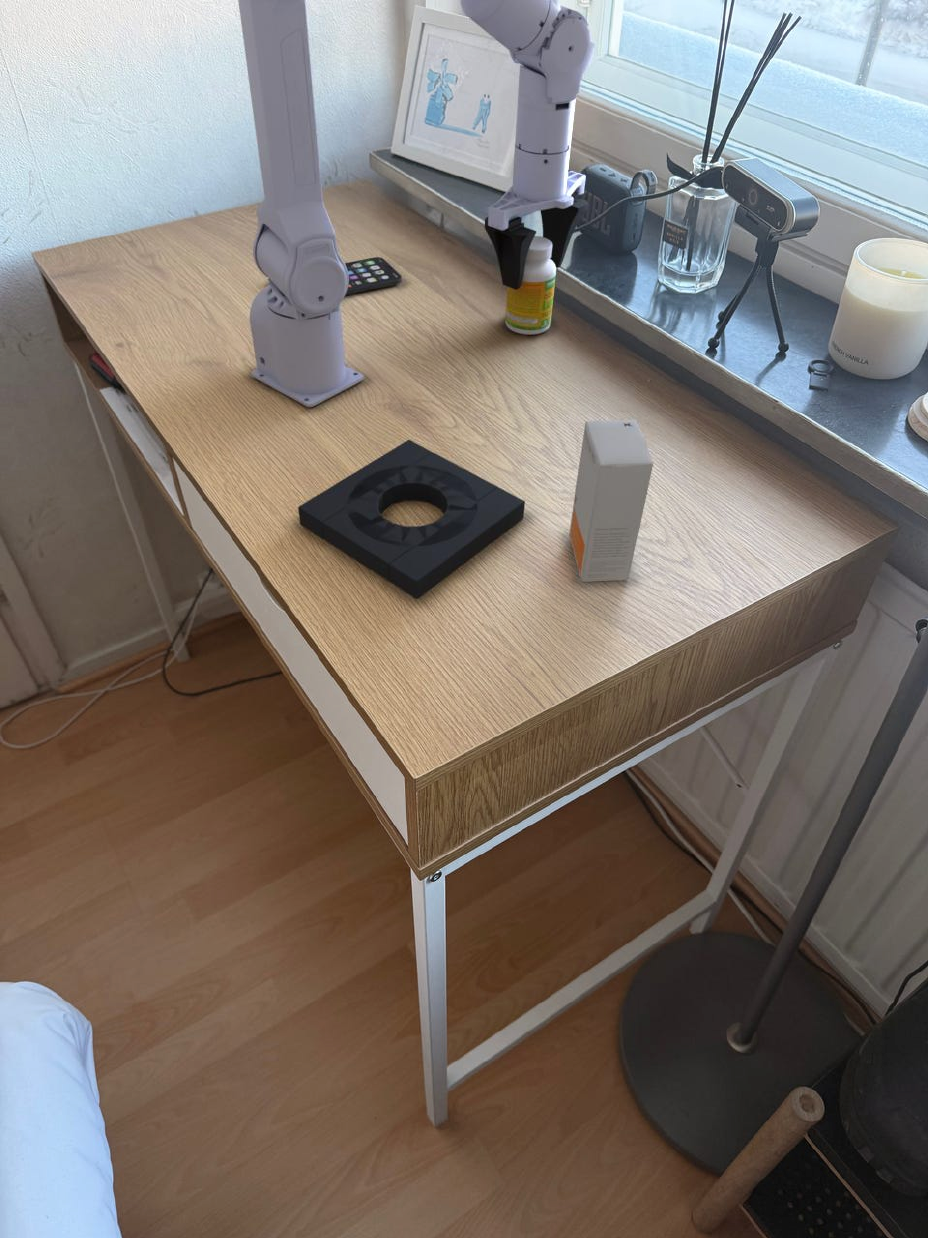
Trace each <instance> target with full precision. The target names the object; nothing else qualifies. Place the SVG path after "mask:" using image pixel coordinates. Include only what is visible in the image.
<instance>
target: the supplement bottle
mask: <svg viewBox="0 0 928 1238" xmlns="http://www.w3.org/2000/svg"><path fill="white" fill-rule="evenodd" d="M551 253H552V242H551V241H550V240H549V239H547V238H544V237H543V236H540V235H535V236H534V238H533V240H532V242H531V245H530V247H529V250H528V253H527V257H526V262H525V268H524V275H523V281H522V284H521V287H520V288H519V289H517V290H515V289H513V288H510V287H508V286H506V287H507V288H506V303H505V304H506V305H505V318H504V321H505V326H506V327H507V328H508V329H509V330H510V331H512V332H514V333H517V334H521V335H540V334H542V333H545V332H546V331H548V330H549V328H550V327H551V323H552V316H553V315H552V313H553V303H554V295H555V285H556V276H557V268H556V266H555V264H554V262H553V261H552V260H551V259H550V258H551Z"/></svg>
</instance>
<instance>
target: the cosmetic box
mask: <svg viewBox="0 0 928 1238" xmlns="http://www.w3.org/2000/svg"><path fill="white" fill-rule="evenodd" d="M647 445H648V444H647V442H646V439H645V437H644V436H643V433H642V431H641V429H640V426H639V424H638V421H637V420H636V419H606V420H605V419H604V420H601V419H600V420H586V421H585V423H584V428H583V436H582V442H581V448H580V449H581V450H580V457H579V463H578V471H577V476H576V477H577V478H576V484H575V492H574V500H573V506H572V513H571V521H570V527H569V533H568V538H569V540H570V544H571V547H572V551H573V555H574V558H575V562H576V563H575V564H576V566H577V567H576V568H577V572H578V576H579V580H580V582H581V583H591V582H593V583H594V582H614V581H628V580H629V578H630V573H631V569H632V565H633V559H634V555H635V550H636V545H637V541H638V536H639V531H640V528H641V523H642V518H643V513H644V510H645V509H644V508H645V504H646V499H647V495H648V491H649V486H650V479H651V475H652V472H653V467H654V462H653V460H652V457H651V454H650V452H649V450H648V446H647Z"/></svg>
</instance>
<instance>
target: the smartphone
mask: <svg viewBox="0 0 928 1238" xmlns="http://www.w3.org/2000/svg"><path fill="white" fill-rule="evenodd" d="M344 263H345V265H346V268H347V270H348V276H349V283H348V289H347V292H346V294H345V296H347V295H352V294H356V293H360V292H361V293H363V292H366V291H372V290H376V289H381V288H385V287H390V286H395V285H398V284H399V285H400V284H401V283H402V282H403V276H402V275H401V274H400V273H399V272H398V271H397V270H396V269H395V268H394V267H393V266H391V264H390V263H389V262H388V261H387V260H385V258H383V257H378V256H374V257H370V258H365V259H359V260H353V261H349V262H344Z"/></svg>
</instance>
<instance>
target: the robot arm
mask: <svg viewBox="0 0 928 1238" xmlns="http://www.w3.org/2000/svg"><path fill="white" fill-rule="evenodd" d="M459 1H460V5H461V10H462V12H463V13H464V15H465V16H466V17H467V18H469V19H470V20H471V21H472V22H473V23H475V24H476V25H477V26H479V28H481V29H482V30H484V32H486V33H487V34H488V35H490V37H492V38H493V39H494V40H496V41H497V42H498V43H499V44H501V46H503V47H504V48H505V49H507V50H508V51H509V54H510V58H511V59H512V61H513V63H515V64H520V65H519V72H518V73H519V76H518V88H517V89H518V90H517V92H518V93H517V108H516V124H515V141H514V154H513V155H514V157H513V171H512V172H513V173H512V185H511V187H510V188H509V189H508V190H507V191H505V192H504V194H503V195H502V196H501V197H500V198H499V200H498V201H496V202H495V203H493V204H491V205H490V206H488V214H487V215H488V216H487V217H485V218H484V229H485V231H486V232H485V233H487V236H488V237H489V239H490V241H491V243H492V246H493V248H494V251H495V254H496V259H497V262H498V266H499V267H498V268H499V272H500V277H501V282H502V286H505V287H510V288H513V289H515V290H517V289H519V288H520V287H521V284H522V281H523V275H524V268H525V262H526V257H527V253H528V250H529V247H530V245H531V242H532V240H533V238H534V236H536V234H537V231H536V230H535V229H532V228H529V227H527V226H525V223H524V222H522V220H523V218H525V217H527V216H529V215H531V214H534V213H536V212H540V215H541V216H540V217H541V224H542V237H544V238H547V239H549V240H550V241H551V242H552V253H551V258H550V259H551V260H552V261H553V262H554V264H555V266H556V269H559V268H561V266H562V265H563V262H564V259H565V256H566V253H567V250H568V247H569V246H570V245H569V244H570V242H571V239H572V237H573V235H574V233H575V230H576V228H577V226H578V224H579V223H580V222H581V219H582V218H583V217H584V215H585V214H586V213H587V211H588V205H589V203H588V201H587V200H585V199H583V198H579V197H578V196H581V195H583V194H584V193H585V185H586V174H584V173H583V174H582V173H580V172H576V171H573V170H570V171H569V165H570V155H571V149H572V148H571V147H572V139H573V138H572V137H573V127H574V119H575V109H576V99H577V96H578V94H580V91H581V82H582V79H583V76H584V74H585V72H586V71H587V69H588V68H589V66H590V64H591V62H592V59H593V56H594V53H595V47H596V44H595V43H594V42H592V37H591V30H590V29H589V23H588V21H587V19H586V17H585V16H584V15H583V14H582V13H581V12H579V11H577V10H575V9H572V8H568V7H567V6H564V5H560V2H559V0H459ZM237 2H238V7H239V8H238V9H239V16H240V24H241V31H242V39H243V47H244V54H245V61H246V67H247V68H246V69H247V77H248V83H249V84H248V85H249V91H250V98H251V105H252V113H253V121H254V128H255V136H256V143H257V151H258V158H259V167H260V173H261V174H260V175H261V180H262V181H261V182H262V189H263V195H264V196H263V197H264V199H263V201H261V202H260V204H259V205H258V207H257V208H256V215H257V216H256V217H257V229H256V230H257V231H256V233H255V237H254V240H253V246H252V255H253V259H254V263H255V265H256V267H257V269H258V270H259V271H260V273H262V275H263V276H265V277H266V278H267V282H268V283H267V284H268V285H267V286H266V287H264V288H263V289H262V290H260V291H259V292H258V293H257V295H256V296H255V297H254V298H253V300H252V303H251V306H250V309H249V310H250V311H249V325H250V330H251V337H252V338H251V339H252V345H253V350H254V357H255V362H256V369H253V370H252V371H251V372H250V374H251V377H252V378H254V379H255V380H258V381H260V382H261V383H263V384H265V385H267V386H269V387H270V388H272V389H274V390H275V391H278V392H280V393H282V394H283V395H285V396H287V397H289V398H290V399H292V400H294V401H296V402H298V403H299V404H301V405H303V406H305V407H307V408H313V407H315V406H317V405H319V404H321V403H323V402H324V401H326V400H328V399H330V398H332V397H334V396H336V395H337V394H340V393H342V392H343V391H345V390H347V389H349V388H351V387H353V386H354V385H357V384H358V383H360V382H362V381H363V380H364V378H365V377H364V374H363V373H361V372H359V371H357V370H355V369H353V368H351V367H349V366H347V365H346V357H345V345H344V332H343V319H342V305H341V303H342V302H343V300H344V298H345V297H346V295H345V294H346V292H347V289H348V283H349V276H348V270H347V268H346V265H345V263H346V262H344V260H343V258H342V257H341V255H340V253H339V249H338V244H337V235H336V232H335V228H334V227H333V224H332V221H331V219H330V216H329V214H328V212H327V210H326V206H325V204H324V197H323V187H322V175H321V174H322V173H321V163H320V162H321V161H320V152H319V150H320V149H319V141H318V129H317V117H316V105H315V97H314V95H315V93H314V84H313V72H312V61H311V49H310V48H311V47H310V40H309V39H310V37H309V29H308V28H309V26H308V14H307V5H306V4H307V3H306V0H237Z"/></svg>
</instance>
